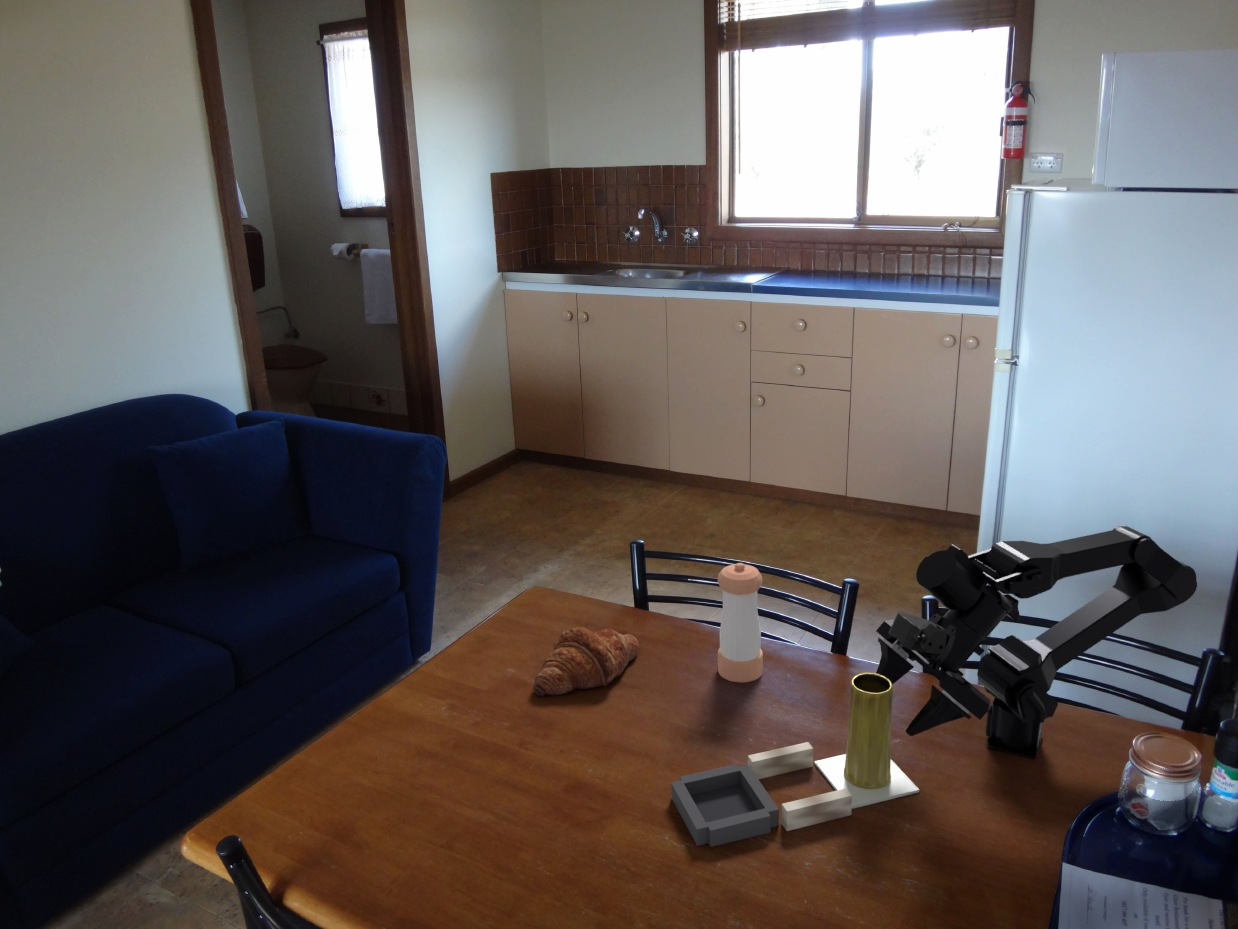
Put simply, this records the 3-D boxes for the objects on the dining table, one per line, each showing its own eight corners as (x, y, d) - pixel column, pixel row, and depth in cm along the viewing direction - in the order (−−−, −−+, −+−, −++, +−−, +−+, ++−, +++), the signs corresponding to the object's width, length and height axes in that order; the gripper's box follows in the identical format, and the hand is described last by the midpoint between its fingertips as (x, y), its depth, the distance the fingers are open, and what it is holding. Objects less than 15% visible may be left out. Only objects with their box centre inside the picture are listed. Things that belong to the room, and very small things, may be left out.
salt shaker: (765, 682, 151) (766, 573, 145) (719, 683, 151) (718, 574, 145) (759, 658, 158) (760, 553, 152) (716, 659, 158) (714, 555, 152)
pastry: (554, 644, 166) (551, 603, 163) (641, 647, 164) (639, 606, 161) (532, 698, 150) (528, 654, 148) (628, 702, 148) (626, 657, 145)
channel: (807, 760, 132) (808, 742, 131) (851, 815, 121) (852, 795, 120) (747, 774, 130) (747, 755, 129) (786, 831, 119) (787, 811, 118)
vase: (892, 792, 124) (897, 697, 120) (843, 787, 126) (847, 693, 121) (889, 763, 130) (894, 672, 125) (843, 759, 131) (847, 668, 127)
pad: (878, 748, 134) (878, 746, 134) (919, 792, 125) (919, 789, 124) (814, 763, 131) (814, 761, 131) (850, 809, 122) (850, 806, 122)
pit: (746, 777, 129) (746, 761, 128) (781, 829, 119) (781, 813, 118) (669, 794, 126) (669, 779, 126) (699, 850, 116) (698, 833, 115)
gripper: (890, 565, 130) (816, 651, 131) (975, 627, 113) (890, 726, 114) (937, 606, 135) (866, 689, 135) (1026, 672, 118) (943, 766, 118)
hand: (888, 714), depth 126 cm, fingers open, 9 cm apart
